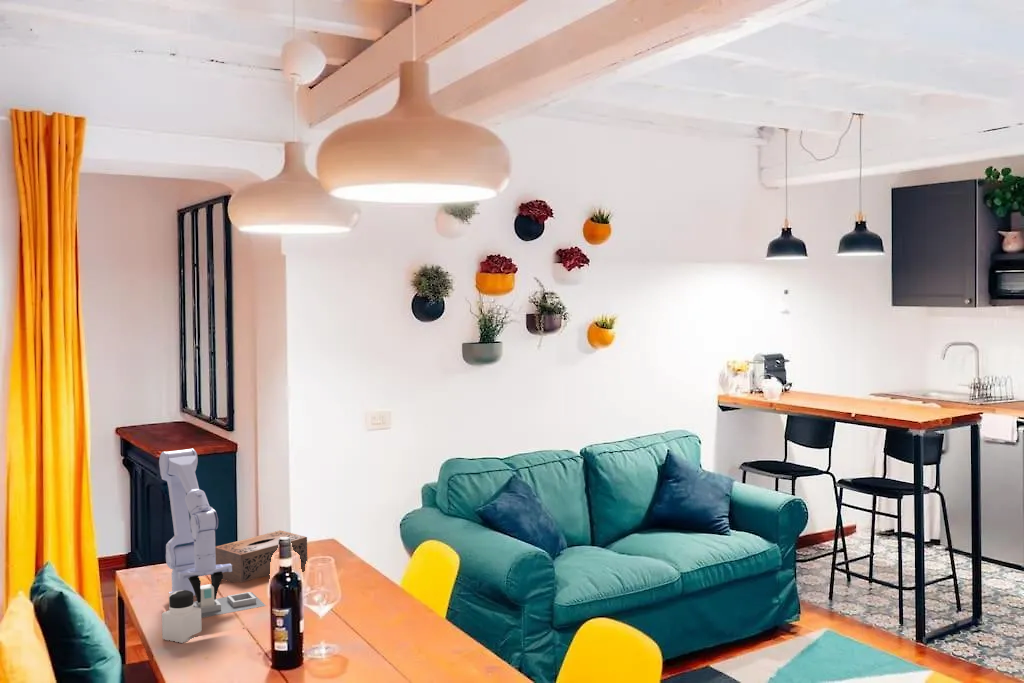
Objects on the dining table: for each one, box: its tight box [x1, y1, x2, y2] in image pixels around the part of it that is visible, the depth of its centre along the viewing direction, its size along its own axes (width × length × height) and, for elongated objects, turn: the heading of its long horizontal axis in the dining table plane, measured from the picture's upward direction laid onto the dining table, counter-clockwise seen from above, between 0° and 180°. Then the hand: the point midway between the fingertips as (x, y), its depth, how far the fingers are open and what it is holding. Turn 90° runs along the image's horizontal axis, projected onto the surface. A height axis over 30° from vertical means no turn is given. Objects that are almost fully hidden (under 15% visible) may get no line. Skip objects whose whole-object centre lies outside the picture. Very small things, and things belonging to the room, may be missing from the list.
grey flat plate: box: [193, 591, 267, 619], centre depth 261 cm, size 14×20×2 cm
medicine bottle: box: [161, 590, 203, 644], centre depth 239 cm, size 7×7×12 cm
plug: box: [198, 583, 214, 608], centre depth 258 cm, size 4×4×6 cm
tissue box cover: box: [215, 529, 308, 583], centre depth 296 cm, size 26×14×10 cm, turn 141°
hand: (206, 600), depth 258 cm, fingers closed on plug, 4 cm apart
